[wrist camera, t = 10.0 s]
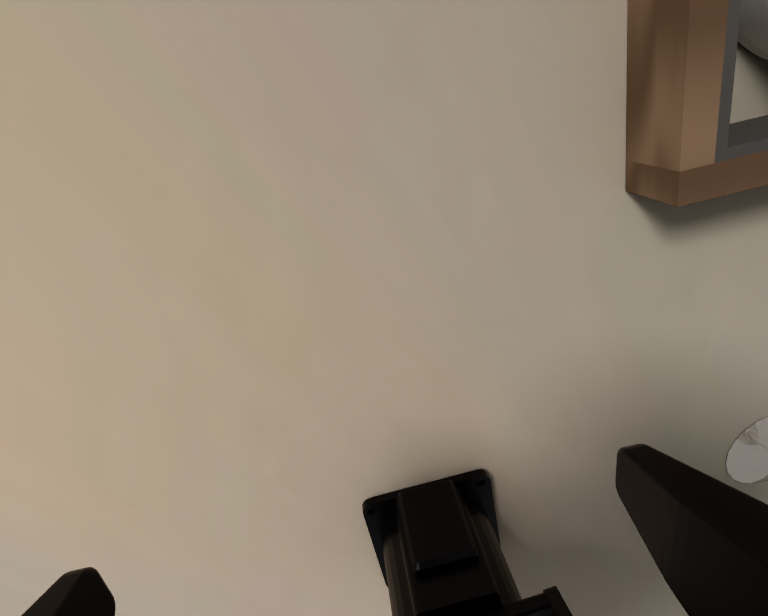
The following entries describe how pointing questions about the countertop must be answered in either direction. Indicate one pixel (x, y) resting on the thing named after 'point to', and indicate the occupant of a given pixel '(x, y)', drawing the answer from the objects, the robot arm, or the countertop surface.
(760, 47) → the eye dropper bottle
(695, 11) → the rubber-lined collar
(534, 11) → the countertop surface
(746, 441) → the wineglass
